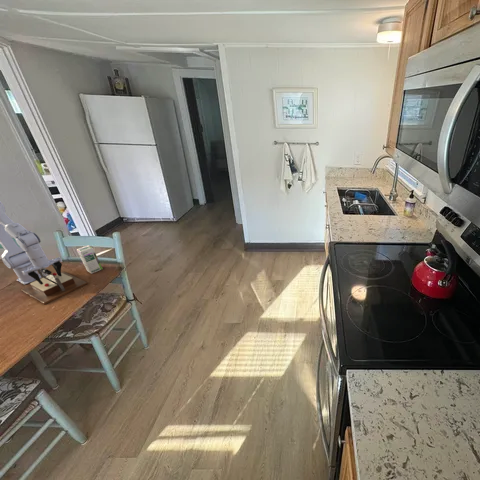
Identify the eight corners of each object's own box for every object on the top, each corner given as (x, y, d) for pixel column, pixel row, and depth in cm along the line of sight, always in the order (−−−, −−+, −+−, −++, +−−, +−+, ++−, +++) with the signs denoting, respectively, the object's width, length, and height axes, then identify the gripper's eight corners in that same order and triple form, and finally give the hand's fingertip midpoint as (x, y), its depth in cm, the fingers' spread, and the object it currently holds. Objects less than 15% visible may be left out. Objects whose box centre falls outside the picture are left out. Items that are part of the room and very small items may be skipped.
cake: (32, 288, 135) (28, 280, 133) (61, 276, 145) (57, 268, 143) (46, 296, 130) (41, 288, 128) (75, 282, 139) (71, 275, 137)
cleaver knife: (41, 277, 138) (35, 267, 135) (46, 275, 139) (40, 265, 136) (56, 284, 132) (50, 274, 129) (60, 282, 133) (54, 272, 130)
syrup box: (91, 274, 148) (80, 251, 141) (86, 271, 151) (75, 248, 144) (103, 269, 152) (93, 247, 146) (98, 266, 155) (88, 244, 149)
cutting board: (21, 290, 135) (12, 277, 131) (64, 272, 150) (57, 259, 146) (44, 304, 126) (35, 290, 122) (87, 283, 140) (81, 270, 136)
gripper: (21, 266, 122) (36, 289, 128) (60, 251, 133) (71, 274, 140) (14, 262, 125) (29, 285, 131) (52, 248, 136) (64, 270, 142)
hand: (50, 279), depth 135 cm, fingers open, 7 cm apart
